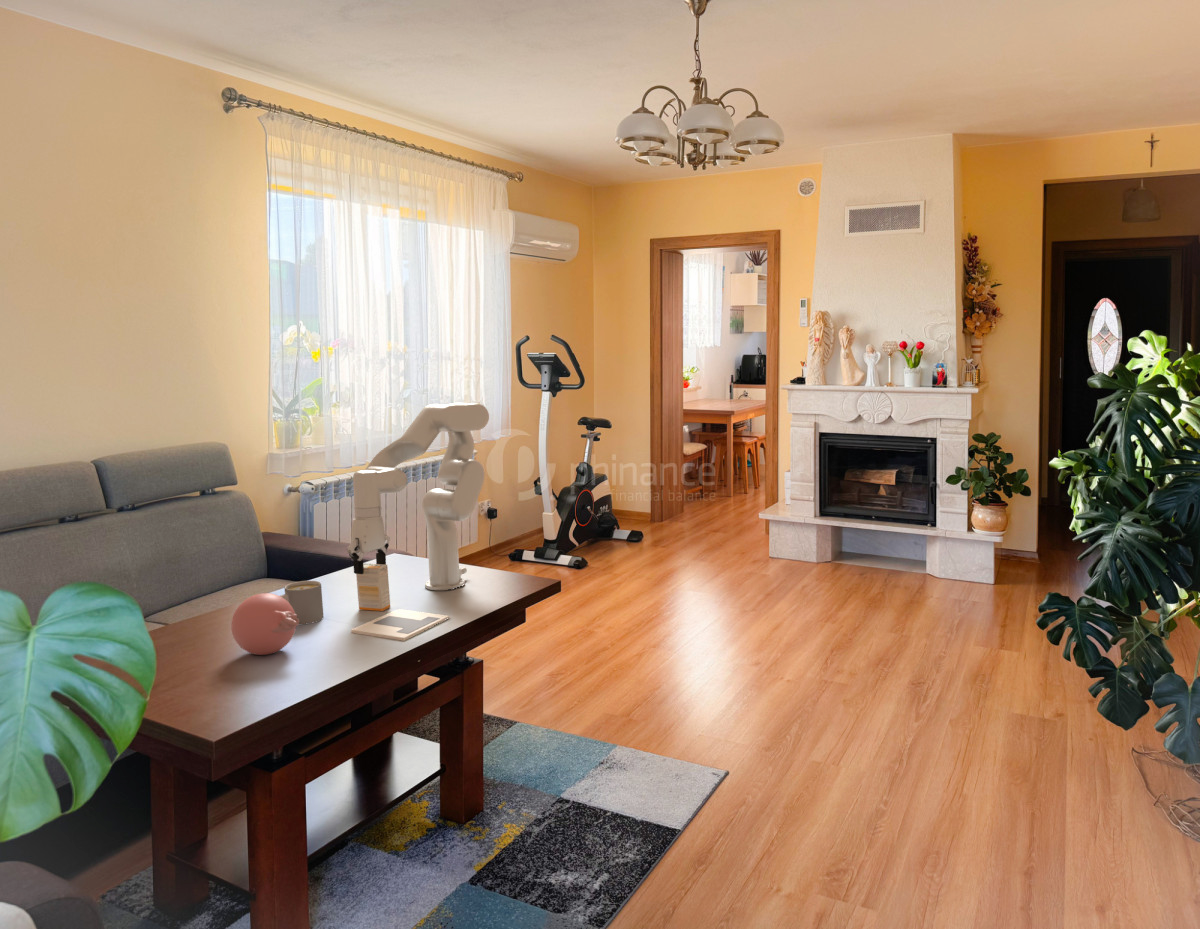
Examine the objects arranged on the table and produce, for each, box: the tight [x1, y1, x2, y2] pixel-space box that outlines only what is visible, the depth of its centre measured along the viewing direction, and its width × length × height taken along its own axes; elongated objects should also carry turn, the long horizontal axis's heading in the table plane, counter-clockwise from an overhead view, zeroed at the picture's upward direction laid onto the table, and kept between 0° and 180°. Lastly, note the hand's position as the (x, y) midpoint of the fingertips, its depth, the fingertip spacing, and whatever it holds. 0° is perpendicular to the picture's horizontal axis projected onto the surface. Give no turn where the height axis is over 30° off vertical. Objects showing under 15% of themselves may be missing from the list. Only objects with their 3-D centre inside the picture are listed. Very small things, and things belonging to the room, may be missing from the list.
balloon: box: [230, 592, 299, 656], centre depth 218 cm, size 15×20×15 cm
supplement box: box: [355, 562, 391, 612], centre depth 256 cm, size 8×5×13 cm, turn 71°
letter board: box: [350, 608, 450, 642], centre depth 240 cm, size 20×18×1 cm
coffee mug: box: [279, 580, 324, 625], centre depth 247 cm, size 13×10×10 cm
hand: (370, 570), depth 254 cm, fingers open, 9 cm apart
